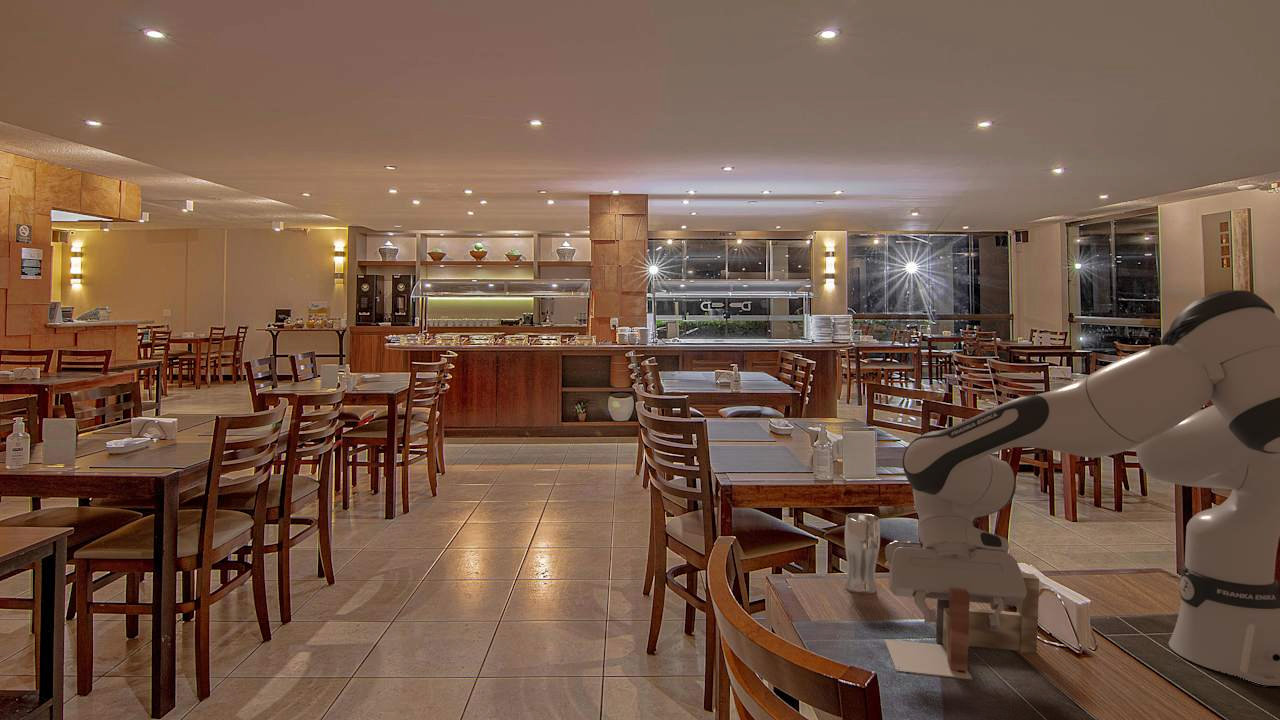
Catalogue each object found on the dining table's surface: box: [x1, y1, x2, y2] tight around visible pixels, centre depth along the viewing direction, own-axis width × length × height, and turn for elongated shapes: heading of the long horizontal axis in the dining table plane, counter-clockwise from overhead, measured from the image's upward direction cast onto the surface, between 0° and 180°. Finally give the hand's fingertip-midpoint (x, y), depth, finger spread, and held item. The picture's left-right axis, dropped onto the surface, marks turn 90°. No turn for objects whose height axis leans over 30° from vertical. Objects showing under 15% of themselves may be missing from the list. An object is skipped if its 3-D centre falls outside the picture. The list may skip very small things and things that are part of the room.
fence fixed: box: [935, 572, 1040, 655], centre depth 113 cm, size 15×3×13 cm, turn 79°
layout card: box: [884, 638, 973, 680], centre depth 109 cm, size 11×11×1 cm
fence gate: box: [943, 588, 971, 671], centre depth 108 cm, size 9×2×12 cm, turn 166°
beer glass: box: [844, 512, 881, 595], centre depth 138 cm, size 7×7×15 cm
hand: (962, 625), depth 104 cm, fingers open, 8 cm apart
